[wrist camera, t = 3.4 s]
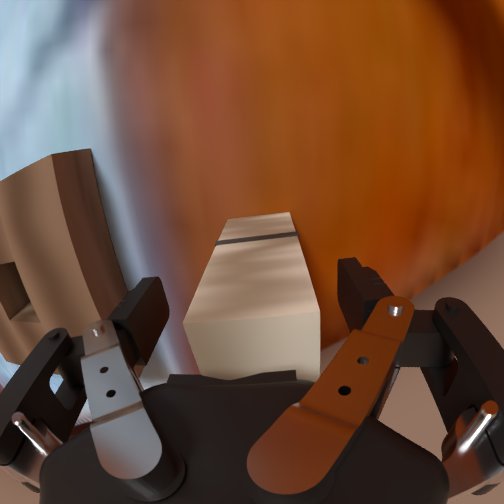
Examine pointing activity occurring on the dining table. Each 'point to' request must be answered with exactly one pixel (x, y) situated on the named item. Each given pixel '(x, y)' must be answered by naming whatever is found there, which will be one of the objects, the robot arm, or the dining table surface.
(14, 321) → the board
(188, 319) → the peg
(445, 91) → the dining table surface
